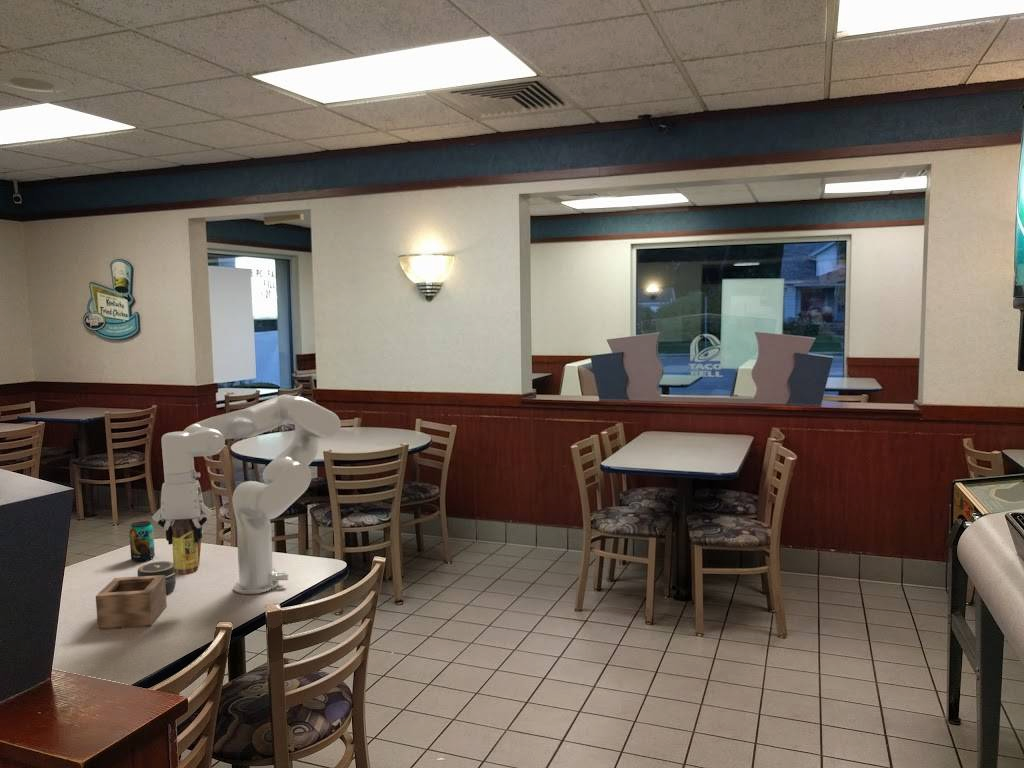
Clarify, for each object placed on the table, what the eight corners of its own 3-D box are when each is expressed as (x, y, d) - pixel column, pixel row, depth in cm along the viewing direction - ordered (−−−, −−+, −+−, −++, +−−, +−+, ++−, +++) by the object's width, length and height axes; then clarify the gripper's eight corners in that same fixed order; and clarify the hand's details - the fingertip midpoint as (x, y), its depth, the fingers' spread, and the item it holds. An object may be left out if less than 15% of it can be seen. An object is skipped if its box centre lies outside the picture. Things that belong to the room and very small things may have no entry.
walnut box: (166, 606, 206) (164, 575, 205) (151, 626, 193) (149, 592, 192) (116, 609, 204) (114, 577, 203) (97, 629, 191) (95, 596, 190)
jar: (158, 583, 223) (157, 559, 222) (184, 587, 220) (182, 562, 219) (130, 595, 214) (129, 570, 213) (157, 600, 210) (155, 574, 210)
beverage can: (126, 562, 242) (124, 526, 241) (140, 555, 249) (138, 520, 248) (145, 563, 241) (143, 527, 240) (159, 556, 248) (157, 521, 247)
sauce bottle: (189, 577, 199) (184, 505, 197) (169, 575, 201) (163, 504, 198) (204, 568, 206) (199, 498, 203) (184, 567, 207) (178, 497, 205)
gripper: (216, 472, 205) (221, 535, 207) (150, 476, 203) (155, 539, 205) (209, 479, 198) (214, 544, 200) (141, 483, 195) (146, 548, 197)
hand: (184, 541), depth 202 cm, fingers closed on sauce bottle, 6 cm apart
